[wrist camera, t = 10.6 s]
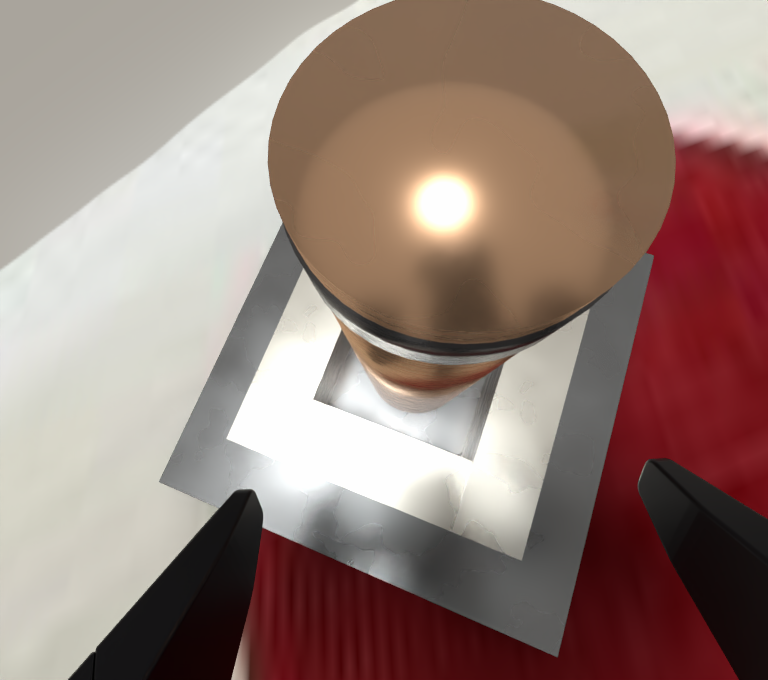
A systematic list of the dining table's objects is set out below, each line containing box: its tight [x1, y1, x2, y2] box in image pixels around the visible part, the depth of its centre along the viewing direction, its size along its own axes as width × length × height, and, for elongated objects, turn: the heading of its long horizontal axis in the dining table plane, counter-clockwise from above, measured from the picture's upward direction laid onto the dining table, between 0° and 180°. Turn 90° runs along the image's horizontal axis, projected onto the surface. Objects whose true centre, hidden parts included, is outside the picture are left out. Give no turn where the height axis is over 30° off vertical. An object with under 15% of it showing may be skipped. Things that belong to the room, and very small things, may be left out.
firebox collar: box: [159, 223, 654, 657], centre depth 17 cm, size 18×18×4 cm
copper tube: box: [268, 0, 676, 413], centre depth 11 cm, size 4×4×14 cm
